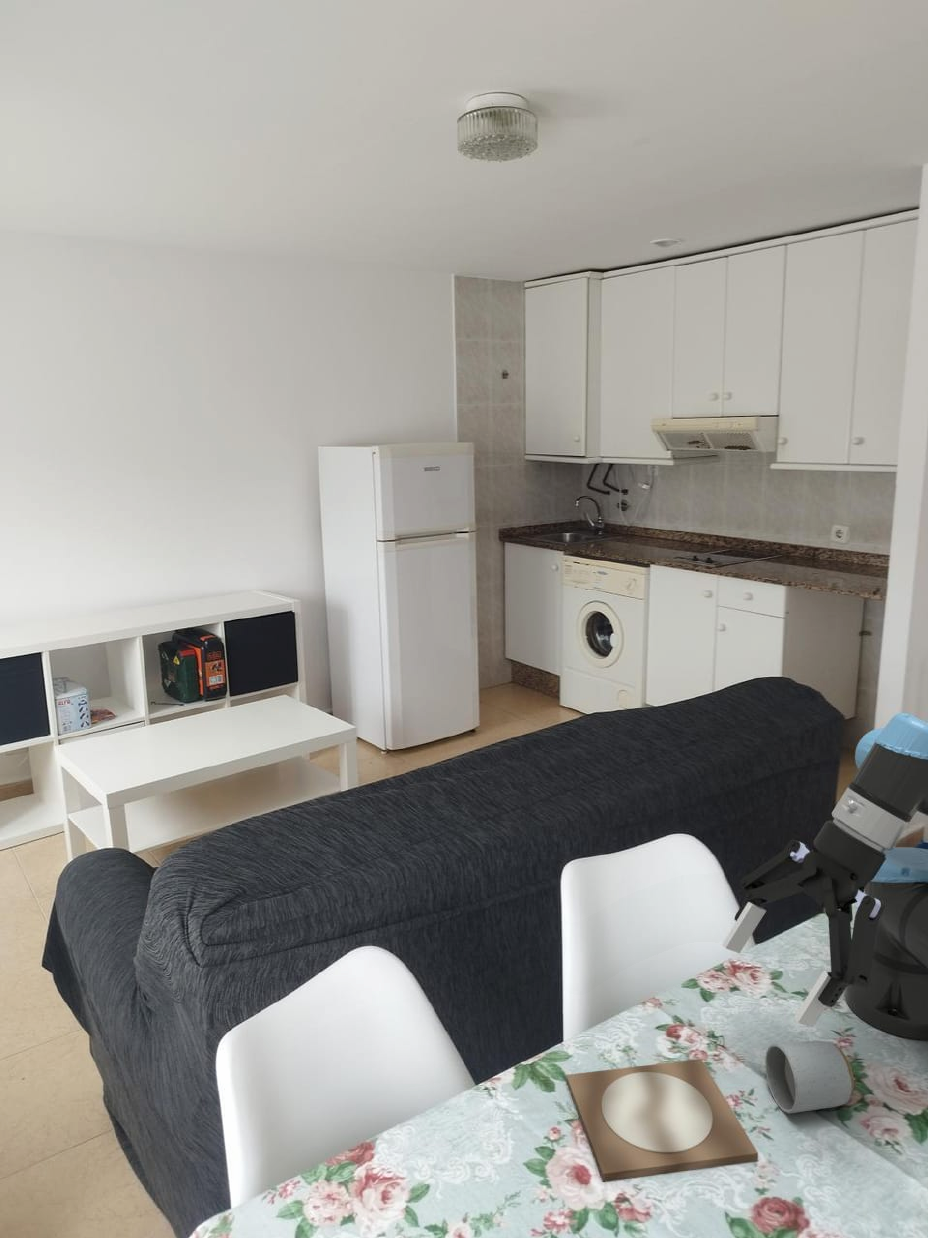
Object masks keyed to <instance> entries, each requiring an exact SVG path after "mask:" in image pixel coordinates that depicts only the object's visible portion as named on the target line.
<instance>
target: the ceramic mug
mask: <svg viewBox="0 0 928 1238" xmlns="http://www.w3.org/2000/svg"><path fill="white" fill-rule="evenodd" d="M765 1053H766V1054H765V1058H764V1059H765V1060H764V1061H765V1066H764V1067H765V1075H766V1078H767V1079H766V1080H767V1084H768V1087H769V1090H770V1093H771V1095H772V1097H773V1100H774V1101H775V1102H776V1104H777V1106H778V1107H779V1108H780V1110H782V1112H784V1113H786V1114H795V1113H801V1112H809V1111H816V1110H817V1111H818V1110H822V1109H831V1108H837V1107H840V1106H843V1105H845V1104H847V1103H848V1102H849V1101H850V1100H851V1099H852V1096H853V1095H854V1088H855V1083H854V1082H855V1080H854V1074H853V1070H852V1066H851V1064H850V1062H849V1059H848V1058H847V1056H846V1054H845V1053H844V1052H843V1050H842V1049H841V1048H840V1047H839V1046H838V1045H837V1044H835V1042H831V1041H826V1040H825V1041H823V1040H809V1041H791V1042H790V1041H787V1042H784V1041H783V1042H774V1043H771V1044H770V1045H768V1047H767V1049H766V1052H765Z"/></svg>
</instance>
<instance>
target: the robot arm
mask: <svg viewBox="0 0 928 1238" xmlns="http://www.w3.org/2000/svg"><path fill="white" fill-rule="evenodd" d="M854 755H855V756H854V759H855V765H856V768H857V771H856V773H855V774H854V776H853V778H852V780H851V781H850V783H849V785H848V787H847V788H846V789H845V791H844V792H843V794H842V796H841V797H840V799H839V800H838V802H837V804H836V806H834V809H833V811H832V812H831V815H832V816H831V817H832V818H833V820H826V821H825V822H824V824H823V825H822V827H821V828H820V830H819V832H818V833H817V835H816V837H815V838H814V840H813V849H812V850H810V847H809V845H807V844H805V843H803V842H801V841H799V840H796V839H793V838H792V839H791V840H789V841H788V842H787V844H786V845H785V847H784V848H783V849H782V851H781V852H779V853H778V854H775V856H773V857H772V858H770V859H769V860H767V861H766V862H764V863H763V864H761V865H760V866H758V867H757V868H755V869H754V870H753V871H751V872H750V873H749V874H747V875H745V876H744V877H742V878H741V879H740V881H739V887H740V888H742V889H743V891H744V893H745V894H744V895H745V899H744V900H743V902H742V904H741V905H740V907H739V909H738V911H737V912H736V914H735V915H734V921H735V923H734V925H733V926H732V928H731V929H730V931H729V933H728V934H727V935H726V937H725V939H723V940H724V941H723V942H722V944H721V945H722V946H723V948H725V949H727V950H729V951H731V952H735V953H736V954H740V953H741V952H742V950H743V949H744V948H745V946H746V945H747V942H748V941H749V939H750V938H751V936H752V934H753V933H754V932H755V930H756V928H757V926H758V925H759V923H760V921H761V920H762V918H763V917H764V915H765V913H766V912H767V910H766V909H765V908H764V907H766V906H767V905H766V904H769V903H773V902H776V901H778V900H782V899H785V898H787V897H790V896H794V895H797V894H800V893H805V895H807V896H808V897H811V898H813V899H814V901H815V902H816V903H817V904H818V906H820V907H822V908H824V909H825V911H824V912H825V915H826V917H827V918H828V933H829V934H828V935H829V936H828V937H829V953H830V955H829V957H830V971H826V970H823V971H822V973H820V976H819V978H818V979H817V981H815V984H814V985H813V986H812V988H811V990H810V992H809V993H808V994H807V996H806V998H805V1000H803V1002H802V1004H801V1006H800V1008H798V1011H797V1012H796V1013H795V1015H794V1017H793V1019H794V1020H795V1021H796V1022H797V1023H799V1024H802V1025H805V1026H807V1027H810V1028H814V1026H815V1025H816V1024H817V1023H818V1021H819V1019H820V1018H821V1016H822V1014H823V1013H824V1012H825V1010H826V1008H827V1007H829V1008H833V1007H835V1006H836V1004H837V1003H838V1001H839V1000H840V998H841V997H842V995H843V993H844V999H845V1002H846V1004H847V1005H848V1007H849V1008H850V1010H852V1012H853V1013H854V1014H855V1015H856V1016H857V1017H859V1018H860V1019H861V1020H862V1021H864V1022H866V1023H867V1024H869V1025H871V1026H873V1027H875V1028H877V1029H878V1030H881V1031H883V1032H886V1033H888V1034H891V1035H894V1036H899V1037H903V1038H907V1039H913V1040H925V1041H926V1040H927V1041H928V849H926V848H919V847H908V846H903V847H902V846H901V847H896V844H897V843H898V841H899V840H900V839H901V837H902V835H903V834H904V831H905V830H906V828H907V827H908V825H909V823H910V822H911V821H912V819H913V818H914V816H915V814H916V813H917V812H919V813H920V814H923V815H925V816H926V817H928V722H927V721H924V720H922V719H920V718H918V717H916V716H914V715H912V714H909V713H907V712H898V713H896V714H894V716H893V717H892V718H891V719H890V720H889V721H888V723H887V724H886V725H885V726H884V728H875V729H873V730H871V731H868V732H867V733H866V734H865V735H863V737H862V738H861V739H860V740H859V742H858V743H857V745H856V748H855V752H854ZM800 863H802V869H800V870H797V871H795V872H793V873H789V874H788V875H787V877H784V878H782V879H779V878H781V877H782V876H783V875H785V874H786V873H788V872H789V871H791V870H792V869H794V868H796V867H797V866H798V865H799V864H800ZM777 879H778V880H777ZM853 904H855V908H856V912H855V916H854V915H853ZM853 916H854V921H853ZM852 922H853V928H852V927H851V923H852Z"/></svg>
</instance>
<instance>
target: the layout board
mask: <svg viewBox="0 0 928 1238" xmlns="http://www.w3.org/2000/svg"><path fill="white" fill-rule="evenodd" d="M565 1076H566V1077H565V1078H566V1085H567V1087H568V1089H569V1093H570V1095H571V1098H572V1100H573V1104H574V1106H575V1109H576V1111H577V1114H578V1117H579V1120H580V1122H581V1125H582V1128H583V1131H584V1134H585V1136H586V1139H587V1142H588V1144H589V1147H590V1149H591V1152H592V1155H593V1158H594V1160H595V1163H596V1166H597V1169H598V1171H599V1175H600V1177H601V1180H602V1182H610V1181H611V1182H612V1181H619V1180H626V1179H632V1178H640V1177H647V1176H648V1177H649V1176H655V1175H662V1174H663V1175H664V1174H670V1173H677V1172H685V1171H692V1170H700V1169H706V1168H713V1167H715V1168H716V1167H721V1166H727V1165H728V1166H729V1165H737V1164H743V1163H745V1164H746V1163H750V1162H751V1163H752V1162H758V1161H759V1159H758V1157H759V1152H758V1151H757V1149H756V1148H755V1146H754V1144H753V1143H752V1141H751V1139H750V1138H749V1136H748V1134H747V1133H746V1130H745V1129H744V1128H743V1125H742V1124H741V1123H740V1121H739V1119H738V1117H737V1116H736V1114H735V1112H734V1111H733V1109H732V1108H731V1106H730V1103H728V1101H727V1099H726V1097H725V1096H724V1094H723V1092H722V1091H721V1089H720V1088H719V1086H718V1084H717V1082H716V1081H715V1079H714V1078H713V1076H712V1074H711V1072H710V1070H708V1067H707V1066H706V1064H705V1063H704V1061H703V1059H702V1058H697V1059H689V1060H679V1061H671V1062H663V1063H662V1062H661V1063H654V1064H644V1065H637V1066H630V1067H629V1066H627V1067H622V1068H621V1067H619V1068H613V1069H605V1070H603V1069H602V1070H597V1071H588V1072H579V1073H570V1074H566V1075H565Z"/></svg>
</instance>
